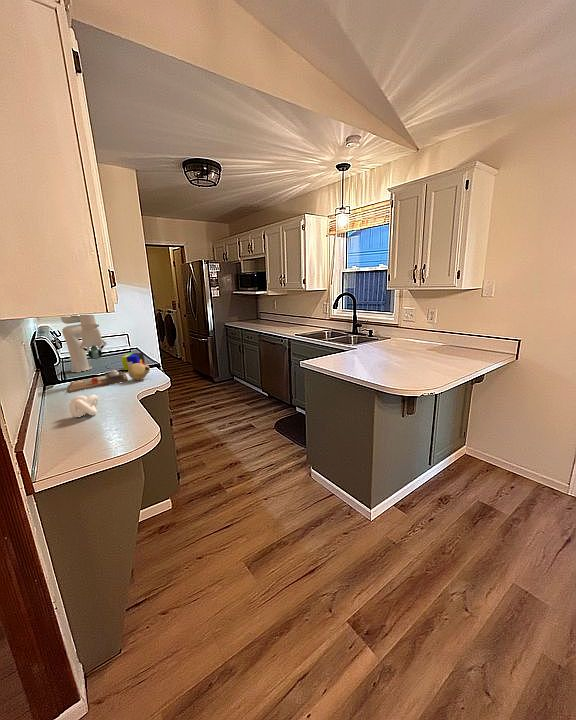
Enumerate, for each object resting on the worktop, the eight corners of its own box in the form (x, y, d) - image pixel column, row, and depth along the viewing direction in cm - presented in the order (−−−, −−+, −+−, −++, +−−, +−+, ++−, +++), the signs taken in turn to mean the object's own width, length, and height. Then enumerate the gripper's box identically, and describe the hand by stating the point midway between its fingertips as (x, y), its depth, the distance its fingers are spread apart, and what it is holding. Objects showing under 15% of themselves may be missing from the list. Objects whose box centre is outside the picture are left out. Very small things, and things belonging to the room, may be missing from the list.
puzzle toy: (138, 370, 216) (136, 356, 213) (124, 371, 216) (121, 357, 213) (145, 366, 225) (143, 352, 223) (131, 367, 226) (128, 353, 223)
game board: (71, 384, 195) (69, 377, 194) (125, 374, 210) (123, 367, 208) (69, 392, 180) (67, 385, 179) (128, 381, 195) (126, 374, 194)
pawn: (92, 358, 195) (89, 346, 193) (100, 356, 197) (97, 344, 195) (92, 359, 191) (89, 347, 189) (100, 358, 193) (97, 346, 191)
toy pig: (152, 379, 195) (149, 363, 192) (130, 383, 190) (127, 366, 187) (150, 375, 203) (147, 359, 200) (129, 379, 198) (126, 362, 195)
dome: (109, 376, 195) (107, 369, 194) (119, 374, 198) (117, 367, 197) (109, 378, 191) (108, 371, 190) (120, 376, 193) (118, 369, 192)
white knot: (66, 422, 143) (61, 403, 140) (77, 411, 154) (73, 394, 151) (93, 418, 144) (89, 400, 142) (103, 408, 156) (99, 391, 153)
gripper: (105, 324, 196) (111, 353, 201) (72, 328, 188) (79, 358, 193) (105, 326, 190) (111, 355, 195) (72, 330, 182) (79, 361, 187)
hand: (95, 356), depth 194 cm, fingers closed on pawn, 4 cm apart
